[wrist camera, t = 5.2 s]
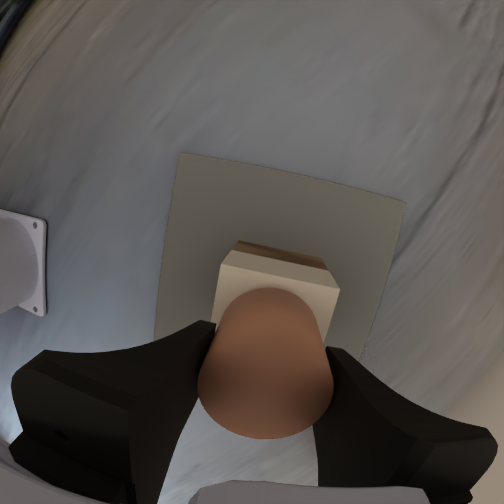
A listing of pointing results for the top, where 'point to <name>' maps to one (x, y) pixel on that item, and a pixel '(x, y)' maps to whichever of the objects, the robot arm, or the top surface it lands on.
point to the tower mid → (275, 284)
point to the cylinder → (266, 367)
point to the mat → (274, 239)
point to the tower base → (280, 254)
